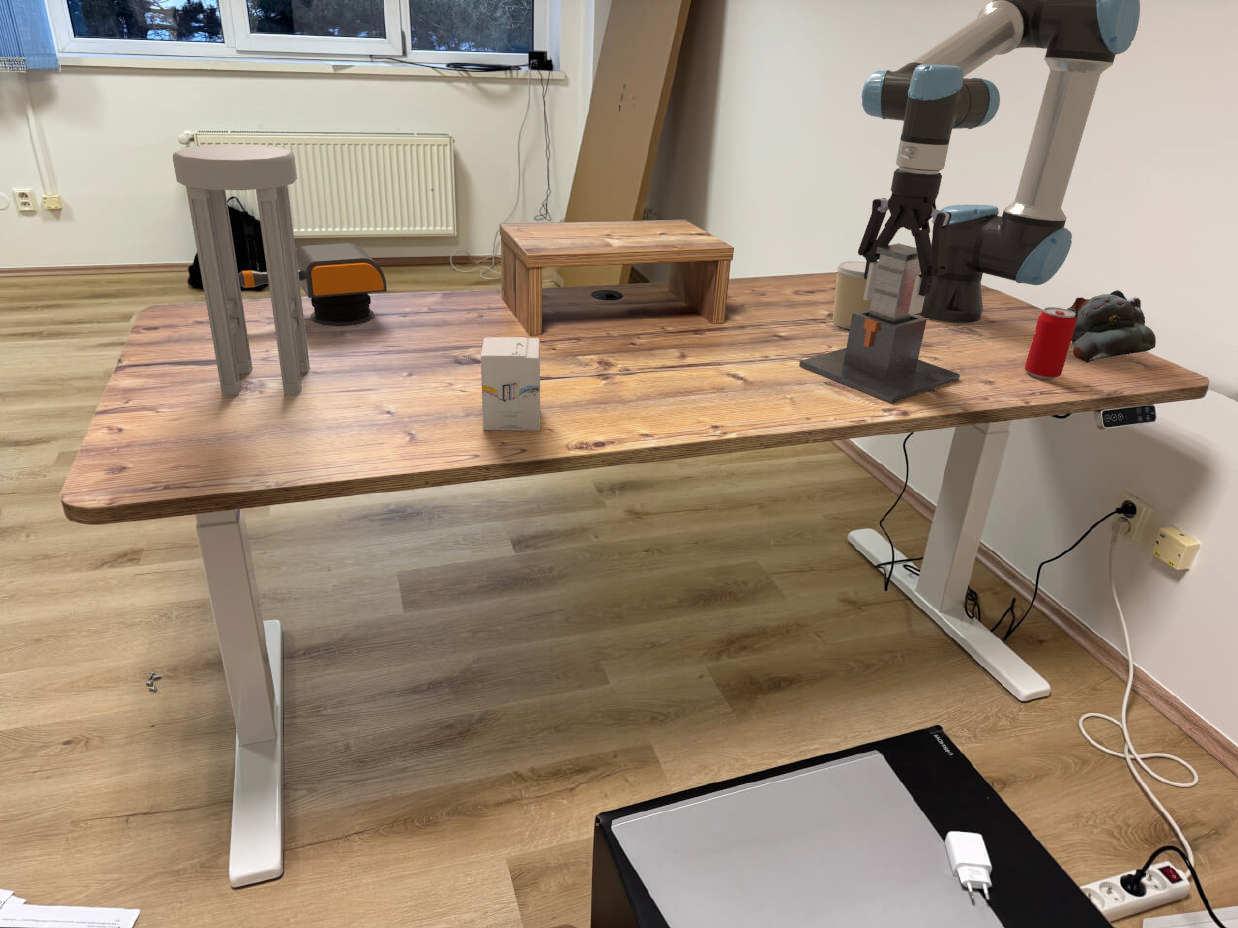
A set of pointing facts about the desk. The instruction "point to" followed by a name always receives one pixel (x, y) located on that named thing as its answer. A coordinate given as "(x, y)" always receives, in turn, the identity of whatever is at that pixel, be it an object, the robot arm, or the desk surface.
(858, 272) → the coffee cup
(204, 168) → the stool
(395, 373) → the desk surface
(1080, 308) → the lucky cat figurine
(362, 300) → the sander
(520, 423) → the ink box
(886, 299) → the column
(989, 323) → the desk surface
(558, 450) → the desk surface
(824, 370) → the stand base
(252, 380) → the desk surface
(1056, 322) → the beverage can
